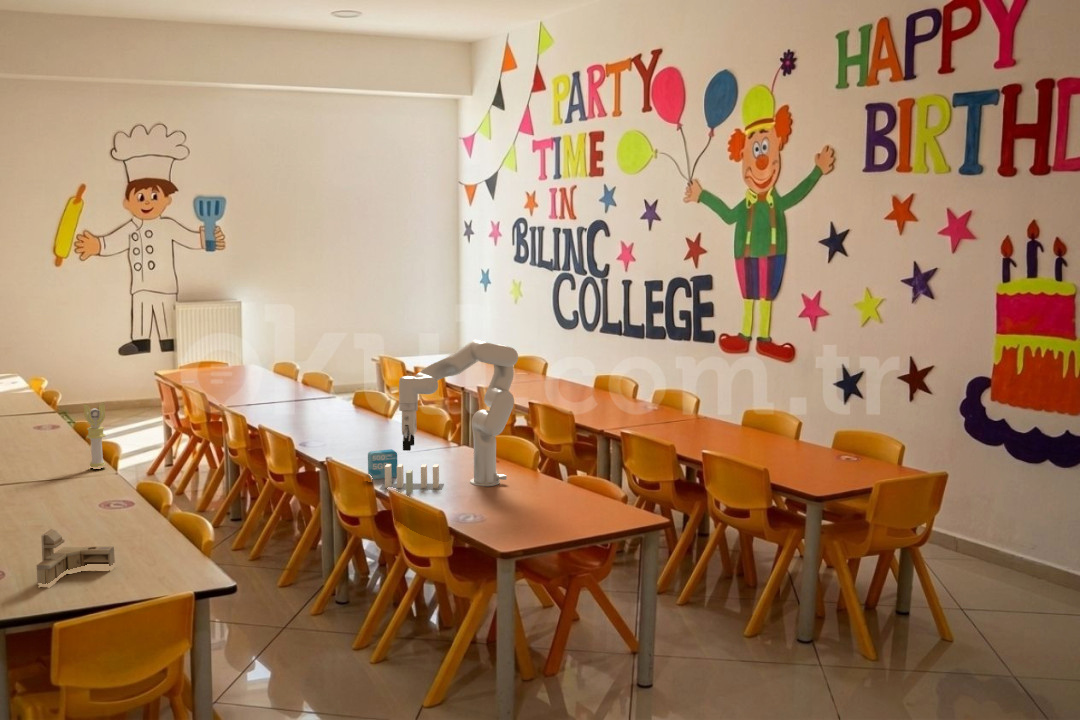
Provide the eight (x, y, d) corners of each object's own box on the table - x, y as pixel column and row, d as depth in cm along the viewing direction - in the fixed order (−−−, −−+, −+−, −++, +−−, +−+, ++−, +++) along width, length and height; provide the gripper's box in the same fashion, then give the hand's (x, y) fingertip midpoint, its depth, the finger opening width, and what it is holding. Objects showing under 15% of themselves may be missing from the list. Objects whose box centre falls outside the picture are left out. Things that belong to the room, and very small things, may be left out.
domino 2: (403, 484, 426) (403, 464, 425) (401, 487, 422) (401, 466, 420) (398, 484, 426) (398, 464, 425) (397, 487, 422) (396, 466, 420)
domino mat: (444, 484, 429) (444, 483, 429) (441, 490, 419) (441, 489, 419) (383, 484, 429) (383, 483, 429) (379, 490, 419) (379, 489, 419)
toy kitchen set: (90, 588, 306) (88, 540, 304) (35, 588, 305) (32, 540, 303) (115, 568, 324) (113, 522, 322) (62, 568, 324) (60, 522, 322)
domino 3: (412, 491, 419) (412, 469, 417) (411, 494, 414) (410, 472, 412) (407, 491, 419) (407, 469, 417) (406, 494, 414) (405, 472, 412)
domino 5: (439, 485, 426) (438, 464, 425) (437, 488, 421) (437, 467, 420) (434, 485, 426) (434, 464, 425) (432, 488, 421) (432, 467, 420)
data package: (370, 480, 436) (370, 453, 434) (368, 478, 440) (367, 451, 438) (397, 477, 441) (397, 450, 439) (394, 475, 445) (394, 448, 443)
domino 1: (391, 484, 427) (391, 463, 425) (389, 487, 422) (389, 466, 420) (387, 484, 427) (386, 463, 425) (385, 487, 422) (384, 466, 420)
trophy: (88, 471, 449) (85, 405, 445) (86, 468, 456) (83, 402, 452) (108, 469, 453) (105, 403, 449) (106, 466, 460) (103, 401, 456)
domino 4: (427, 485, 426) (426, 464, 425) (425, 488, 421) (425, 467, 420) (422, 485, 426) (422, 464, 425) (420, 488, 421) (420, 466, 420)
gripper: (414, 410, 403) (414, 452, 405) (420, 403, 420) (420, 443, 422) (395, 410, 403) (396, 452, 405) (402, 403, 420) (402, 443, 422)
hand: (408, 447), depth 414 cm, fingers open, 9 cm apart
